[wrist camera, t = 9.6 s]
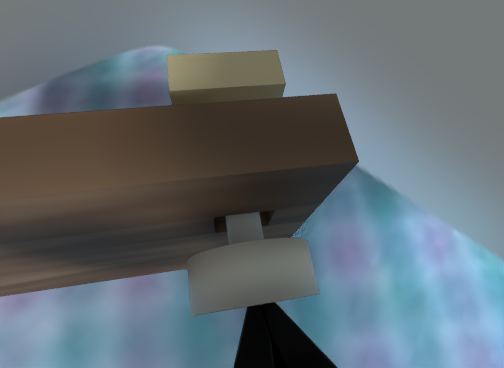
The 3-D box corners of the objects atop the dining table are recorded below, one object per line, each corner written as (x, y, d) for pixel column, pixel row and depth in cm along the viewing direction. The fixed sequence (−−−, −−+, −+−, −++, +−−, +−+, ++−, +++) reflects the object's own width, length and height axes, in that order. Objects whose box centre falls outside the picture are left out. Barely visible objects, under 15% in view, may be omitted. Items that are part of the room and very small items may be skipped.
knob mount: (273, 255, 19) (358, 161, 7) (-40, 302, 16) (-783, 283, 4) (260, 185, 21) (309, 14, 9) (-22, 217, 18) (-498, 39, 6)
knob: (302, 296, 11) (339, 290, 7) (197, 314, 11) (182, 317, 7) (264, 115, 14) (277, 50, 11) (182, 122, 14) (166, 55, 10)
